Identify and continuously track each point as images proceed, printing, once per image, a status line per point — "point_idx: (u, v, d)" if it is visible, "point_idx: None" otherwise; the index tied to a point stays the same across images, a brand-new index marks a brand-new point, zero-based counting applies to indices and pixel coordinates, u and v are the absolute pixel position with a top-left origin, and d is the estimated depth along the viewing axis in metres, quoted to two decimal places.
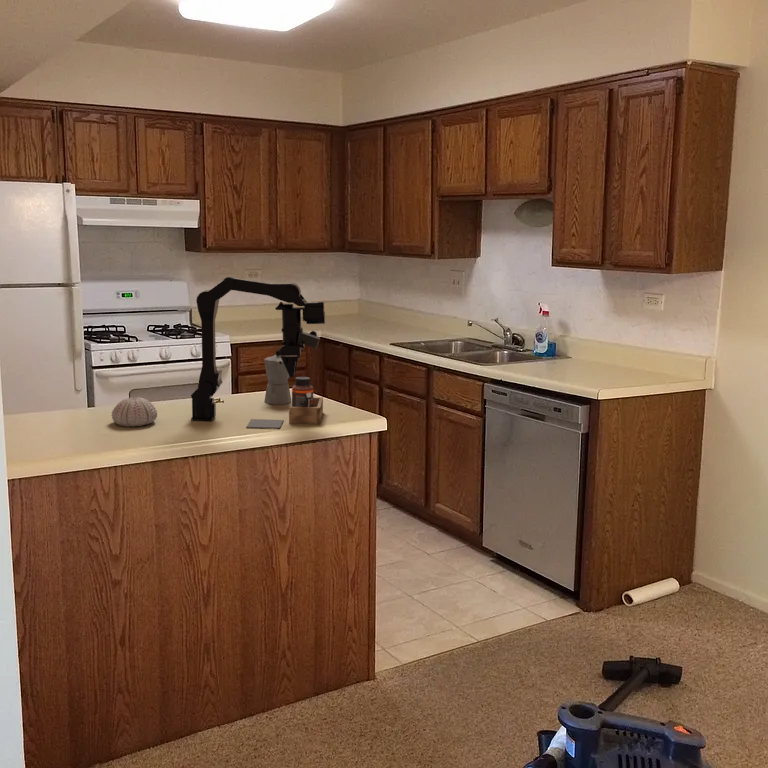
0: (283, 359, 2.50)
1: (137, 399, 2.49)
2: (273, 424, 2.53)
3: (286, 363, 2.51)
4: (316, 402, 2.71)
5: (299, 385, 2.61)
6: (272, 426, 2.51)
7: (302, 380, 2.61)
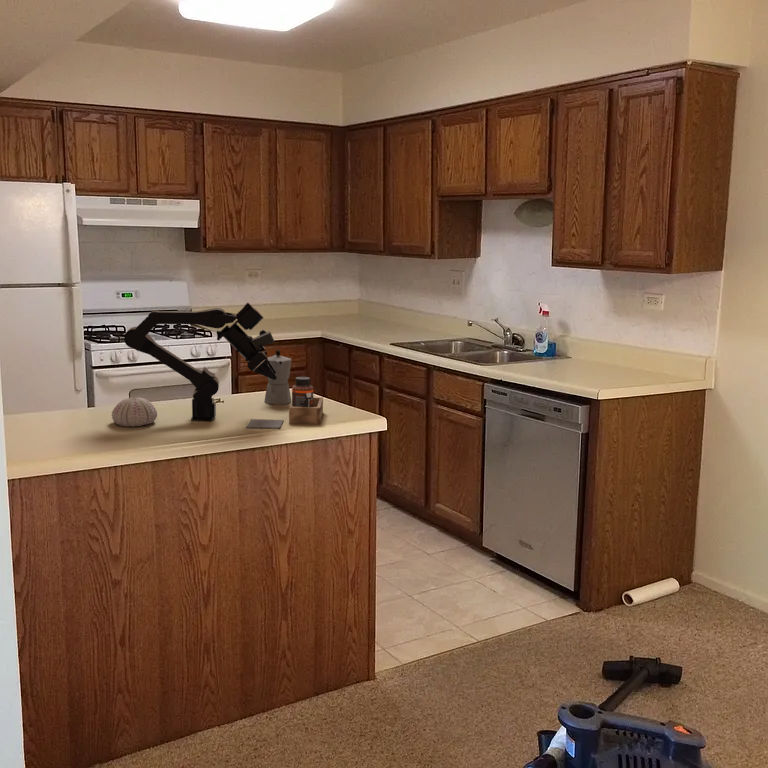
0: (257, 371, 2.53)
1: (137, 399, 2.49)
2: (273, 424, 2.53)
3: (262, 372, 2.54)
4: (316, 402, 2.71)
5: (299, 385, 2.61)
6: (272, 426, 2.51)
7: (302, 380, 2.61)
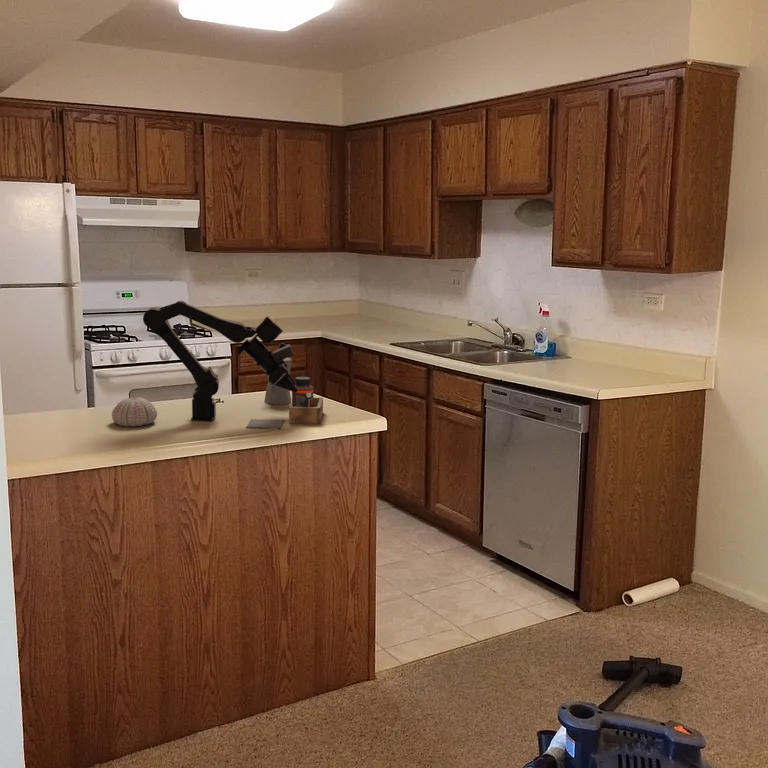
0: (278, 384, 2.55)
1: (137, 399, 2.49)
2: (273, 424, 2.53)
3: (283, 385, 2.56)
4: (316, 402, 2.71)
5: (299, 385, 2.61)
6: (272, 426, 2.51)
7: (302, 380, 2.61)
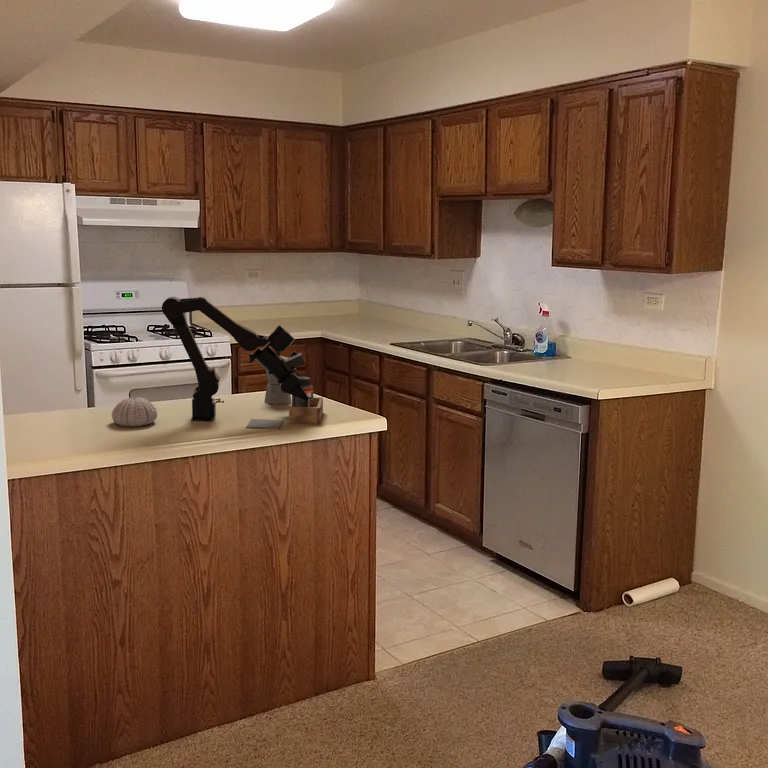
0: (290, 392, 2.57)
1: (137, 399, 2.49)
2: (273, 424, 2.53)
3: (294, 393, 2.58)
4: (316, 402, 2.71)
5: None
6: (272, 426, 2.51)
7: (302, 380, 2.61)
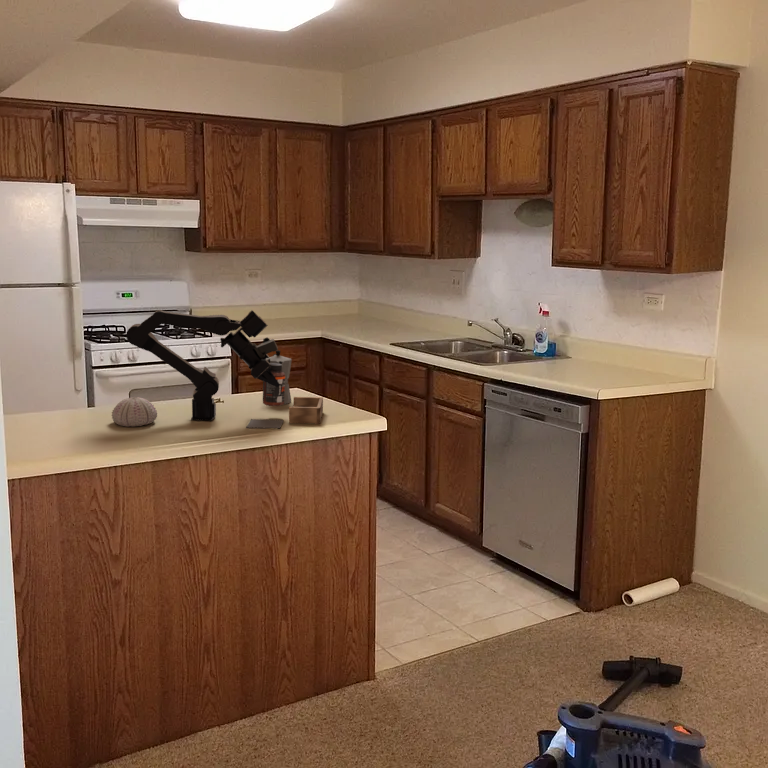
0: (260, 378, 2.55)
1: (137, 399, 2.49)
2: (273, 424, 2.53)
3: (265, 379, 2.56)
4: (316, 402, 2.71)
5: None
6: (272, 426, 2.51)
7: (274, 366, 2.58)
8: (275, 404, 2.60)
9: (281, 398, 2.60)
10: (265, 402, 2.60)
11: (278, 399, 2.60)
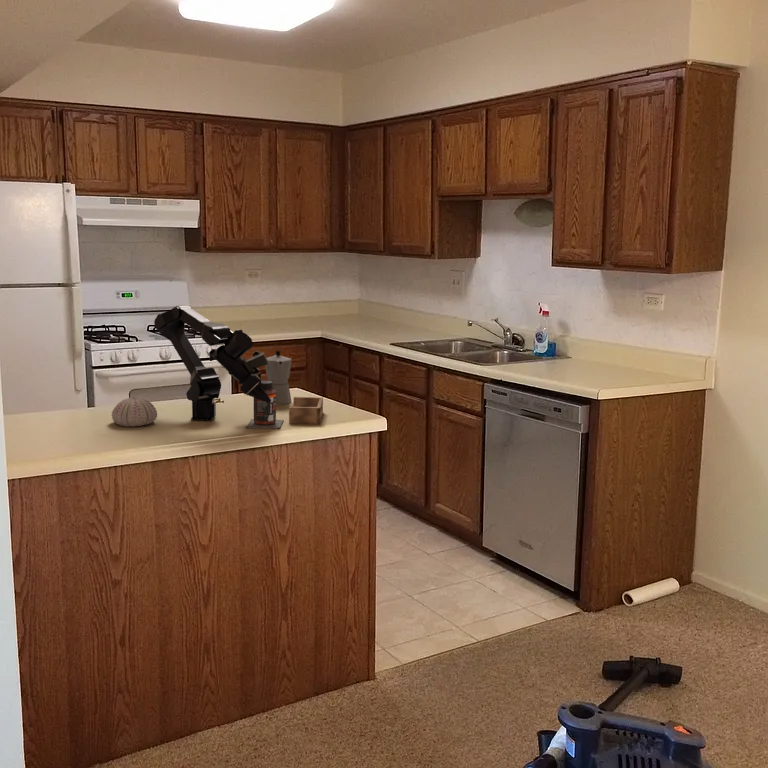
0: (251, 394, 2.45)
1: (137, 399, 2.49)
2: (273, 424, 2.53)
3: (256, 395, 2.46)
4: (316, 402, 2.71)
5: None
6: (272, 426, 2.51)
7: (264, 384, 2.50)
8: (266, 423, 2.51)
9: (272, 417, 2.52)
10: (256, 421, 2.52)
11: (270, 417, 2.51)
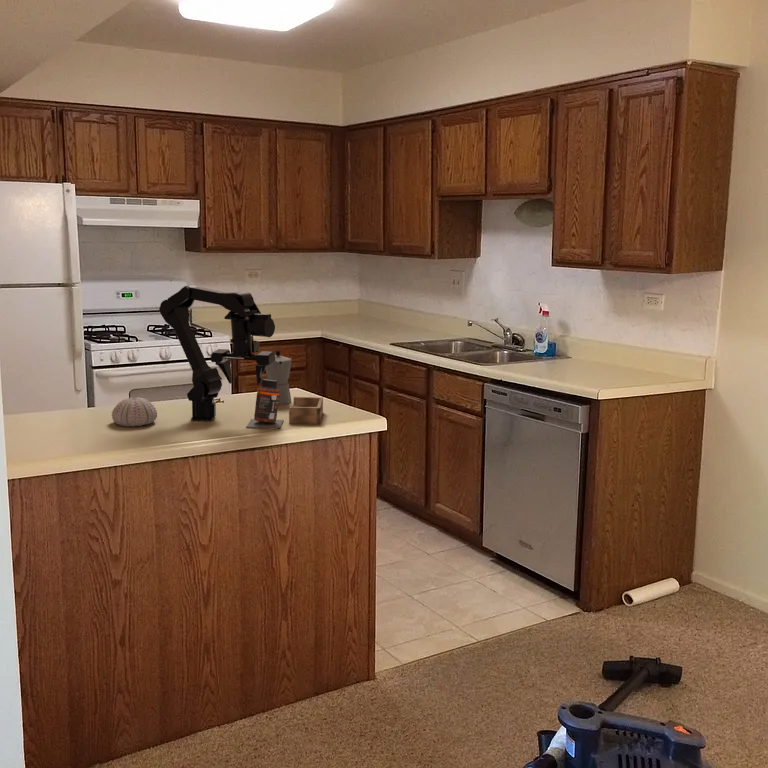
0: (261, 368, 2.49)
1: (137, 399, 2.49)
2: (273, 424, 2.53)
3: (260, 372, 2.50)
4: (316, 402, 2.71)
5: (265, 386, 2.52)
6: (272, 426, 2.51)
7: (269, 381, 2.51)
8: (267, 420, 2.51)
9: (273, 415, 2.52)
10: (257, 418, 2.52)
11: (271, 415, 2.52)
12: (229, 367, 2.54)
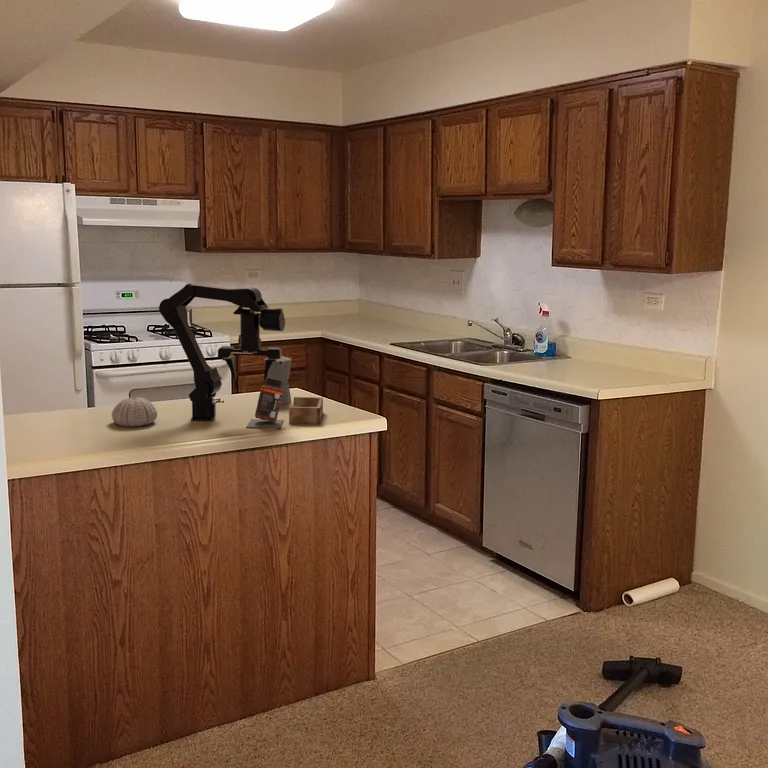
0: None
1: (137, 399, 2.49)
2: (273, 424, 2.53)
3: None
4: (316, 402, 2.71)
5: (269, 384, 2.53)
6: (272, 426, 2.51)
7: (274, 380, 2.53)
8: (267, 418, 2.51)
9: (275, 414, 2.53)
10: (258, 415, 2.52)
11: (272, 413, 2.52)
12: (234, 364, 2.54)
